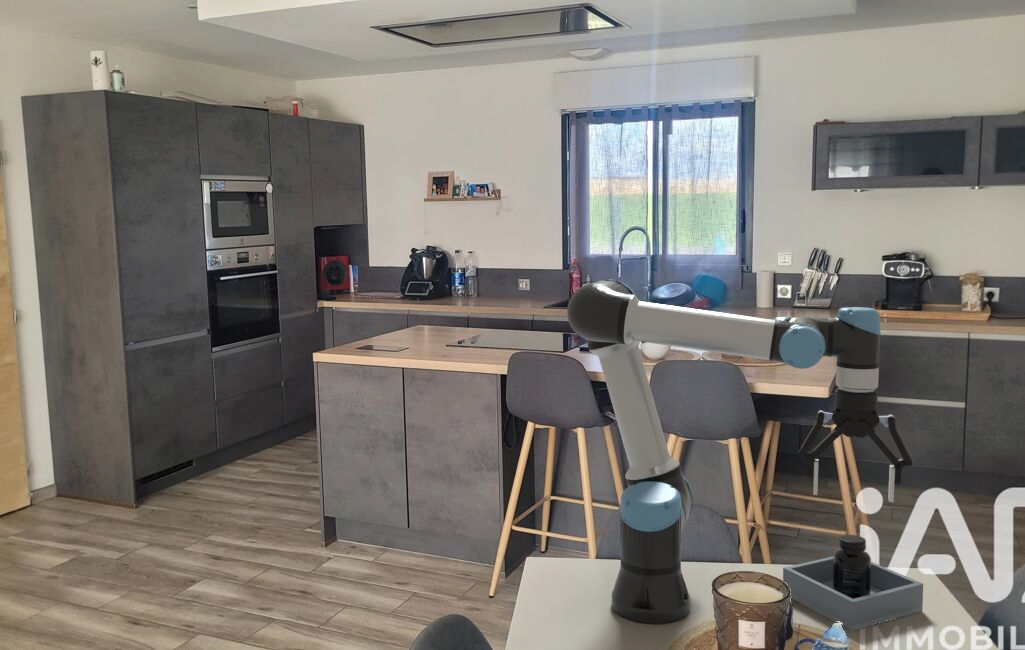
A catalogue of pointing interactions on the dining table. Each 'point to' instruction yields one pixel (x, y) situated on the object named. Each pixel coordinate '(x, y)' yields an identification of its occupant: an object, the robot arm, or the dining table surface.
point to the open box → (885, 601)
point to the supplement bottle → (852, 567)
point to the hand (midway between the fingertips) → (852, 496)
